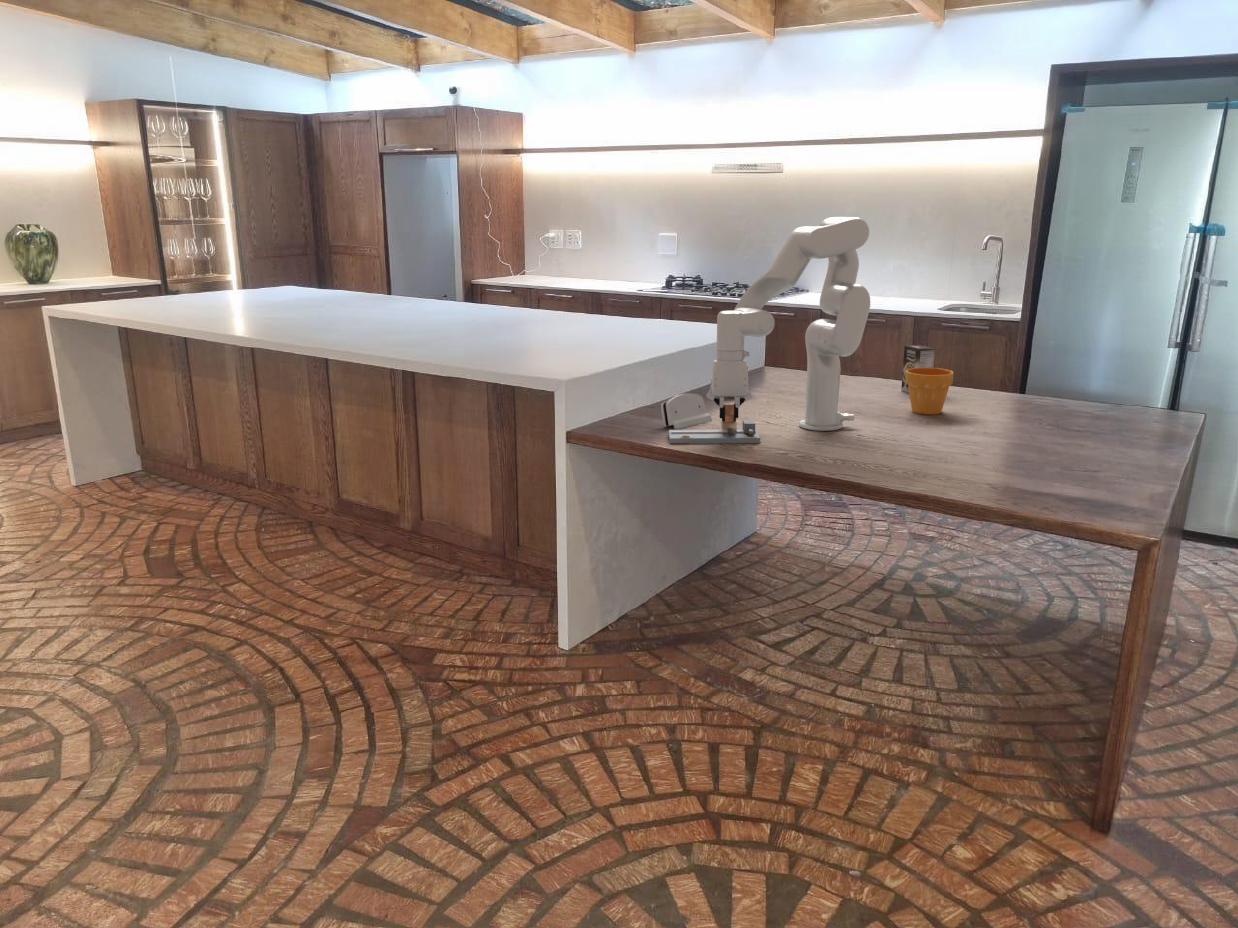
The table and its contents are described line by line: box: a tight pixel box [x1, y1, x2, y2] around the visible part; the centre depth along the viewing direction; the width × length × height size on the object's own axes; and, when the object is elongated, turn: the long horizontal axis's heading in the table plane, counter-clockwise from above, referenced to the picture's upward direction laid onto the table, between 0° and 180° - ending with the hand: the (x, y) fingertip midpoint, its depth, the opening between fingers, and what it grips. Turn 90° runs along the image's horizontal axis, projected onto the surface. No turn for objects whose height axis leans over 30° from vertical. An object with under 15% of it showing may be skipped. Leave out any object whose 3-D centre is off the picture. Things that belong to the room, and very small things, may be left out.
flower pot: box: [905, 367, 954, 415], centre depth 281 cm, size 14×14×13 cm
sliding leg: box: [720, 402, 738, 436], centre depth 250 cm, size 4×8×8 cm, turn 179°
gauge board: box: [668, 419, 761, 444], centre depth 251 cm, size 25×10×5 cm, turn 89°
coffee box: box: [900, 344, 936, 394], centre depth 310 cm, size 9×6×16 cm
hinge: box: [660, 393, 713, 430], centre depth 271 cm, size 17×5×10 cm, turn 132°
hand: (728, 420), depth 252 cm, fingers closed on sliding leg, 2 cm apart
